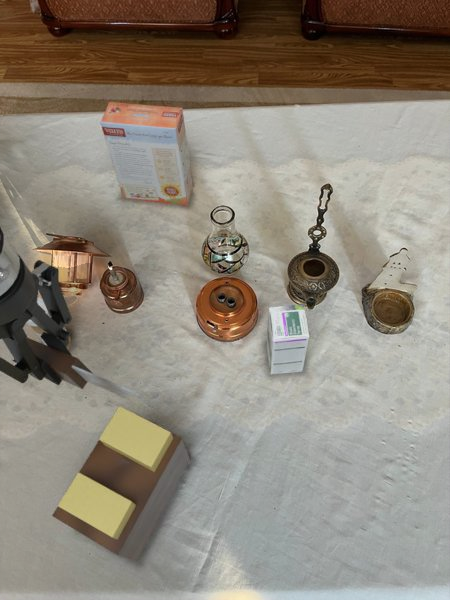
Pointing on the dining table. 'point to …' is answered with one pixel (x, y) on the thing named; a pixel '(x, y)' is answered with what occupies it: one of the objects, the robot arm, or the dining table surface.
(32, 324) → the sprinkles bottle
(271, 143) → the dining table surface
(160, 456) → the butter block
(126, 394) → the knife
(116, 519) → the butter slice
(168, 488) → the butter stand
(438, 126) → the dining table surface
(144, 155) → the cracker box
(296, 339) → the syrup box
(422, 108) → the dining table surface
